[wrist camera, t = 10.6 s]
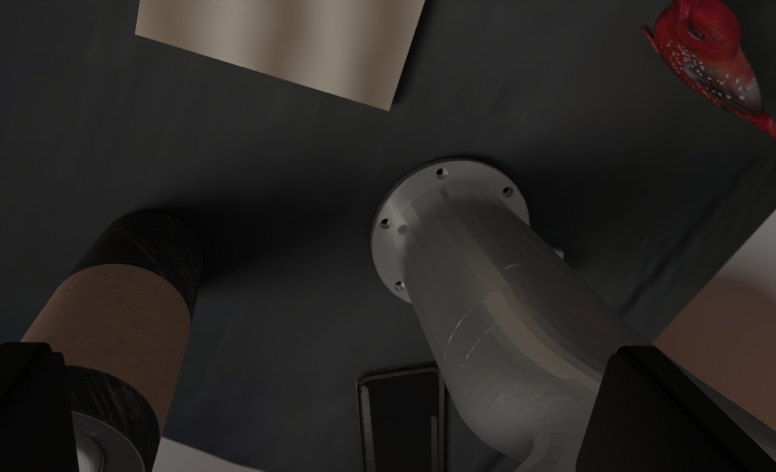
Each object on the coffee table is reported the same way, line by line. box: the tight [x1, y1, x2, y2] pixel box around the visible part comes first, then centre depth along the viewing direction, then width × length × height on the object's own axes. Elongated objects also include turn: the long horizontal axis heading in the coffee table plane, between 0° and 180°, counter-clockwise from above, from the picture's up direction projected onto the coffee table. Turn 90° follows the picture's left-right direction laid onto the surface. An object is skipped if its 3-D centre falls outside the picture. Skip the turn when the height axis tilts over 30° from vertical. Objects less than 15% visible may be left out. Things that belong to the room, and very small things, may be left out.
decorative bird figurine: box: [640, 0, 776, 140], centre depth 36 cm, size 3×18×10 cm, turn 52°
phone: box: [356, 362, 444, 472], centre depth 51 cm, size 8×1×15 cm
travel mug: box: [20, 211, 203, 472], centre depth 31 cm, size 8×8×20 cm
